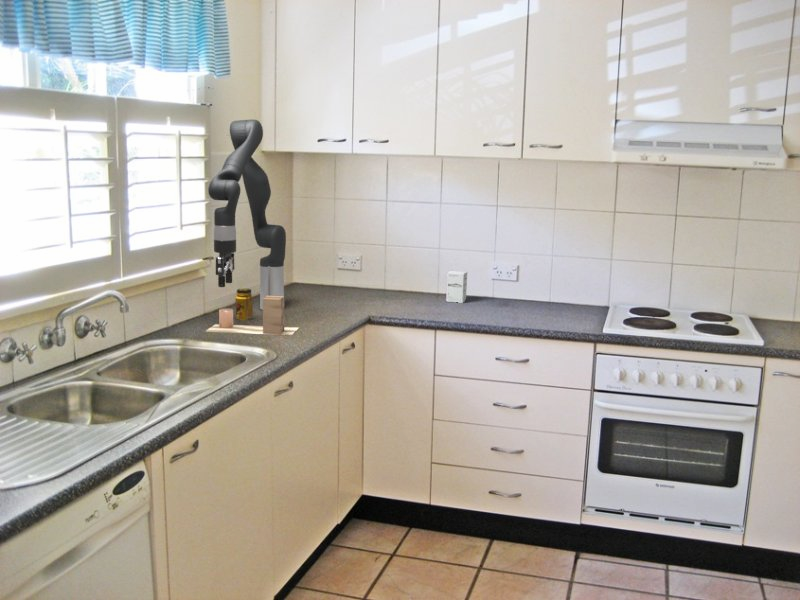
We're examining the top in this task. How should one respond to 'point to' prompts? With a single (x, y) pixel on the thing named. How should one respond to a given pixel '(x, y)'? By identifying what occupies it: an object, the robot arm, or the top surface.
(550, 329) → the top surface
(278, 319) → the walnut block bottom
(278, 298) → the walnut block top
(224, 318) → the terracotta capsule
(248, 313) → the condiment
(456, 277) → the supplement box
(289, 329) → the birch board
